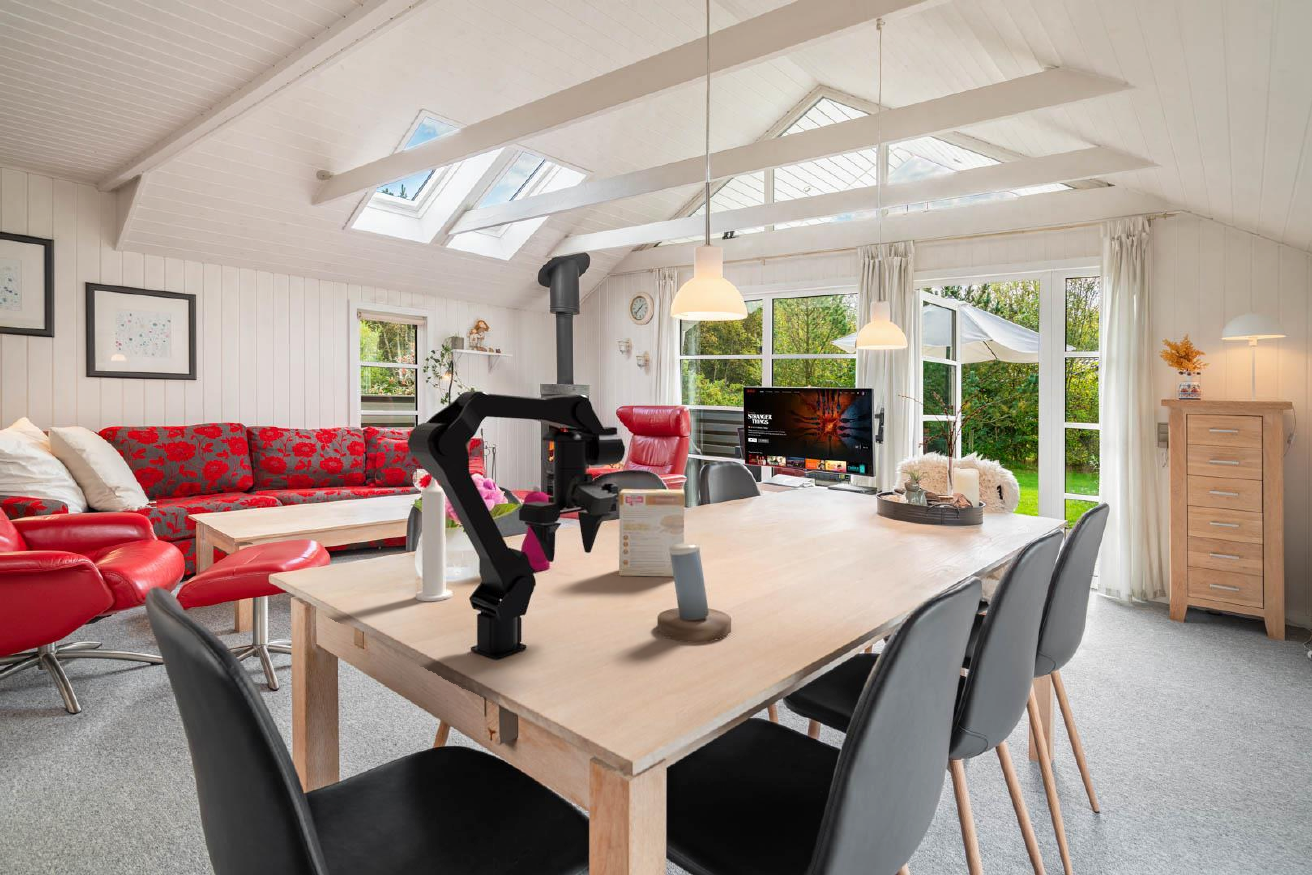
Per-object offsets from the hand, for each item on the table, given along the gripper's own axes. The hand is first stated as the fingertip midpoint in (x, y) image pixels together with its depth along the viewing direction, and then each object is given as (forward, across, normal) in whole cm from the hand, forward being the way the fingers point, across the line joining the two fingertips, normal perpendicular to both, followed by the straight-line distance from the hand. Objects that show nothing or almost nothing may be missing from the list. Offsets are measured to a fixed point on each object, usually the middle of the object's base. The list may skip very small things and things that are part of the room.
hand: (569, 556), depth 122 cm
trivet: (+14, +14, -16) cm, 26 cm away
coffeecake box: (+13, +42, +14) cm, 46 cm away
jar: (+11, +15, -16) cm, 24 cm away
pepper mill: (+13, +28, +38) cm, 49 cm away
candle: (+13, -2, +36) cm, 38 cm away
